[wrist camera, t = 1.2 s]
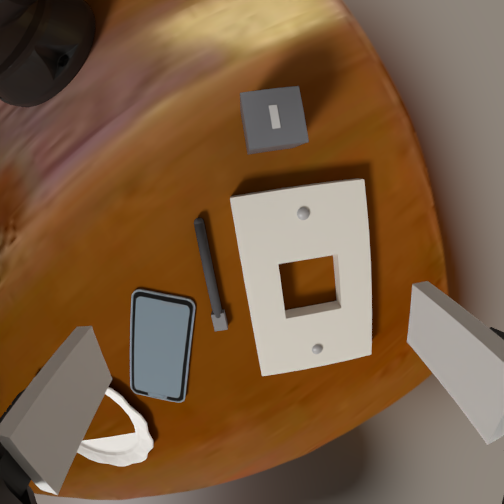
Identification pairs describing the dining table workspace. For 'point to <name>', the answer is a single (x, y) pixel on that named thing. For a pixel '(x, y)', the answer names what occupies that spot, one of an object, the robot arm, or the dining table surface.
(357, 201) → the outlet plate
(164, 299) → the smartphone
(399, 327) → the dining table surface
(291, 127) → the block
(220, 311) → the cable
